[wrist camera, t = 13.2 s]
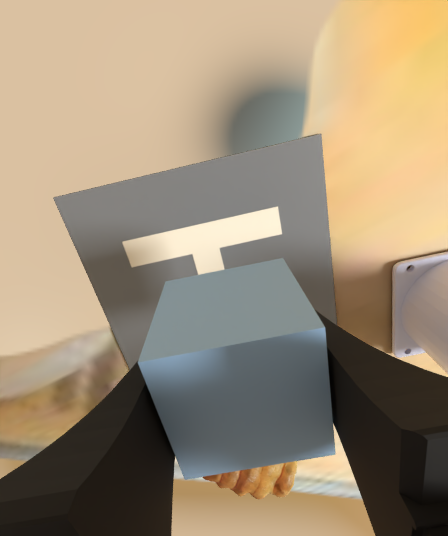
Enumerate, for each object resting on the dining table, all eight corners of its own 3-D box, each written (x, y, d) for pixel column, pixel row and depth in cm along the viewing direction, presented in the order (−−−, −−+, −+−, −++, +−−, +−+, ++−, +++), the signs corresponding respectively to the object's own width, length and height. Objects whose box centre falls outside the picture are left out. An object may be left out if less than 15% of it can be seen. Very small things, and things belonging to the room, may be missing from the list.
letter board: (320, 133, 17) (321, 133, 17) (338, 353, 23) (339, 355, 23) (54, 197, 18) (52, 197, 17) (141, 392, 24) (140, 395, 24)
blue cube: (282, 257, 12) (325, 327, 8) (295, 353, 14) (335, 454, 10) (165, 281, 12) (137, 362, 8) (194, 371, 14) (185, 479, 10)
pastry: (180, 458, 28) (175, 504, 24) (194, 405, 25) (191, 447, 22) (276, 470, 29) (285, 515, 25) (298, 420, 26) (312, 462, 23)
